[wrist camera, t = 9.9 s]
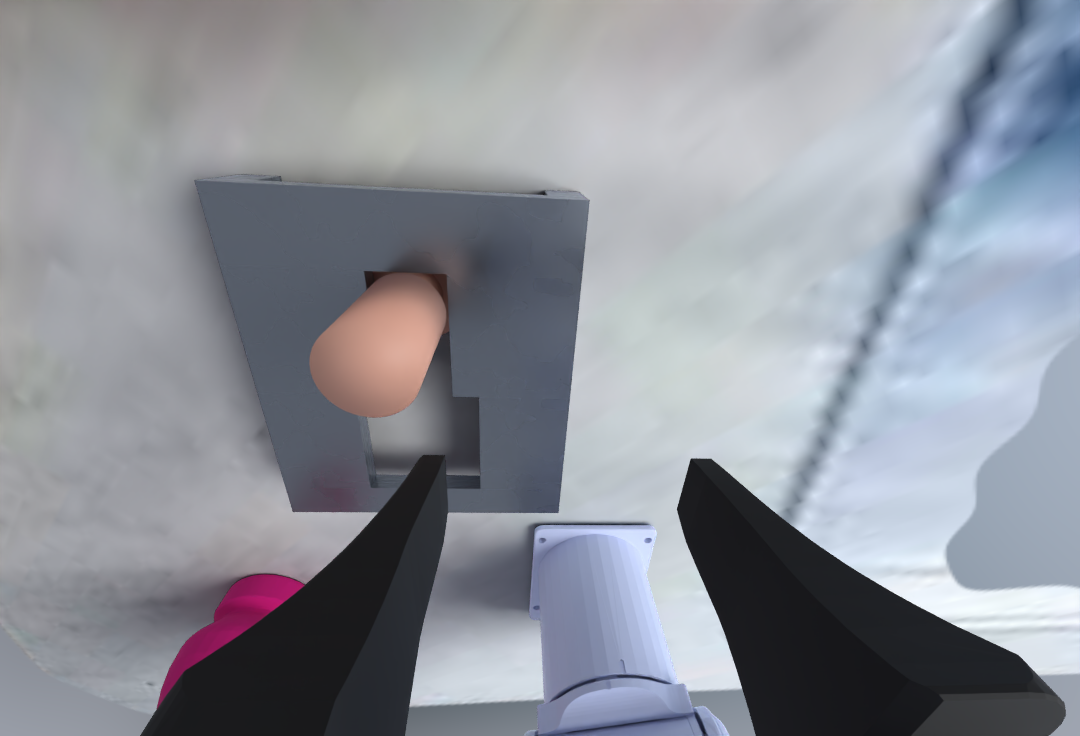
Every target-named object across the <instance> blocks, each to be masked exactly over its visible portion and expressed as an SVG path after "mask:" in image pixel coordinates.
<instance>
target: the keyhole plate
mask: <svg viewBox="0 0 1080 736" xmlns="http://www.w3.org/2000/svg"><path fill="white" fill-rule="evenodd" d="M195 184H196V187H197V190H198V194H199V197H200V201H201V204H202V207H203V211H204V214H205V217H206V221H207V224H208V228H209V231H210V234H211V238H212V241H213V244H214V248H215V251H216V254H217V258H218V261H219V265H220V268H221V271H222V275H223V278H224V281H225V285H226V288H227V292H228V295H229V298H230V302H231V305H232V308H233V312H234V315H235V318H236V322H237V325H238V329H239V332H240V335H241V339H242V342H243V345H244V349H245V352H246V356H247V359H248V362H249V366H250V369H251V372H252V376H253V379H254V383H255V386H256V389H257V393H258V396H259V399H260V403H261V406H262V409H263V413H264V416H265V420H266V423H267V426H268V430H269V433H270V436H271V440H272V443H273V447H274V450H275V453H276V457H277V460H278V463H279V467H280V470H281V474H282V477H283V480H284V484H285V487H286V490H287V494H288V497H289V500H290V504H291V507H292V511H293V512H379V511H380V510H381V509H382V508H383V507H384V505H385V504H386V503H387V502H388V500H389V499H390V498H391V497H392V495H393V494H394V493H395V492H396V490H397V489H398V488H399V487H400V485H401V484H402V483H403V481H404V480H405V479H406V477H407V476H408V475H376V470H375V464H374V458H373V452H372V446H371V440H370V434H369V427H368V421H367V417H363V416H358V415H355V414H352V413H349V412H346V411H344V410H342V409H340V408H339V407H337V406H336V405H334V404H333V403H331V402H330V401H329V400H328V399H327V398H326V397H325V396H324V395H323V394H322V393H321V392H320V390H319V389H318V387H317V386H316V384H315V382H314V380H313V378H312V375H311V372H310V365H309V362H310V353H311V350H312V347H313V345H314V343H315V342H316V340H317V339H318V338H319V336H320V335H321V334H322V333H323V332H324V331H325V330H326V329H328V328H329V327H330V326H331V325H332V324H333V323H334V322H335V321H336V320H337V319H338V318H339V317H340V316H341V315H342V314H343V313H344V312H345V311H346V310H347V309H348V308H349V307H350V306H351V305H352V304H353V303H354V302H355V301H356V300H357V299H358V298H359V297H360V296H361V295H362V294H363V293H364V292H365V291H366V290H367V289H368V288H369V287H370V286H371V285H372V284H373V283H374V279H373V271H379V272H404V273H429V274H447V293H448V313H449V333H450V354H451V374H452V394H453V397H479V428H480V476H468V475H446V480H447V496H448V512H462V513H558V511H559V501H560V491H561V481H562V471H563V461H564V451H565V441H566V431H567V421H568V411H569V401H570V391H571V381H572V371H573V361H574V351H575V341H576V331H577V321H578V311H579V301H580V291H581V281H582V271H583V261H584V251H585V241H586V231H587V221H588V211H589V201H590V200H588V199H587V198H586V197H585V196H584V195H582V194H581V193H580V192H571V191H552V190H545V195H532V194H512V193H493V192H474V191H454V190H435V189H416V188H396V187H377V186H357V185H338V184H319V183H299V182H282V180H281V176H266V175H247V174H241V175H233V176H225V177H217V178H208V179H200V180H195Z"/></svg>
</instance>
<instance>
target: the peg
mask: <svg viewBox="0 0 1080 736" xmlns="http://www.w3.org/2000/svg"><path fill="white" fill-rule="evenodd" d="M373 279H374V283H373V284H372V285H371V286H370V287H369V288H368V289H367V290H366V291H365V292H364V293H363V294H362V295H361V296H360V297H359V298H358V299H357V300H356V301H355V302H354V303H353V304H352V305H351V306H350V307H349V308H348V309H347V310H346V311H345V312H344V313H343V314H342V315H341V316H340V317H339V318H338V319H337V320H336V321H335V322H334V323H333V324H332V325H331V326H330V327H329V328H328V329H326V330H325V331H324V332H323V333H322V334H321V335H320V336H319V338H318V339H317V340H316V342H315V343H314V345H313V347H312V350H311V353H310V362H309V365H310V372H311V375H312V378H313V380H314V382H315V384H316V386H317V387H318V389H319V390H320V392H321V393H322V394H323V395H324V396H325V397H326V398H327V399H328V400H329V401H330V402H331V403H333V404H334V405H336V406H337V407H339V408H340V409H342V410H344V411H346V412H349V413H352V414H355V415H358V416H363V417H373V418H375V417H386V416H390V415H393V414H396V413H398V412H400V411H402V410H404V409H405V408H406V407H408V406H409V405H410V404H411V403H412V402H413V401H414V399H415V398H416V396H417V394H418V392H419V390H420V387H421V385H422V382H423V380H424V377H425V375H426V372H427V370H428V367H429V365H430V362H431V360H432V357H433V355H434V352H435V350H436V347H437V345H438V342H439V340H440V337H441V335H443V334H445V333H447V332H449V313H448V293H447V274H429V273H404V272H379V271H373Z"/></svg>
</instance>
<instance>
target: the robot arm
mask: <svg viewBox="0 0 1080 736" xmlns="http://www.w3.org/2000/svg"><path fill="white" fill-rule="evenodd" d="M677 511H678V515H679V519H680V522H681V526H682V530H683V533H684V536H685V540H686V543H687V545H688V548H689V550H690V552H691V555H692V557H693V559H694V562H695V564H696V567H697V569H698V571H699V573H700V576H701V578H702V580H703V583H704V585H705V587H706V590H707V592H708V594H709V597H710V599H711V601H712V603H713V606H714V608H715V610H716V613H717V615H718V617H719V620H720V622H721V625H722V628H723V630H724V633H725V636H726V639H727V642H728V645H729V648H730V651H731V654H732V657H733V660H734V663H735V666H736V669H737V672H738V676H739V679H740V682H741V686H742V689H743V692H744V696H745V698H746V702H747V706H748V708H749V712H750V716H751V720H752V723H753V727H754V730H755V734H756V736H1049V735H1050V734H1051V733H1052V732H1054V731H1055V730H1056V729H1057V728H1058V727H1059V726H1060V725H1061V724H1062V722H1063V720H1064V717H1065V716H1066V710H1065V704H1064V702H1063V701H1062V700H1061V699H1060V698H1059V697H1058V696H1057V695H1056V694H1055V692H1054V691H1053V690H1052V689H1051V688H1050V687H1049V686H1048V685H1047V684H1046V683H1045V682H1044V681H1043V680H1042V679H1041V678H1040V677H1039V676H1038V675H1037V674H1036V673H1035V672H1034V671H1033V670H1032V669H1031V668H1030V667H1029V665H1028V664H1027V663H1026V662H1025V661H1024V660H1023V659H1022V658H1021V657H1020V656H1019V655H1017V654H1015V653H1013V652H1011V651H1008V650H1006V649H1004V648H1002V647H1000V646H998V645H996V644H993V643H991V642H989V641H987V640H985V639H983V638H981V637H978V636H976V635H974V634H972V633H970V632H968V631H965V630H963V629H961V628H959V627H957V626H955V625H953V624H951V623H949V622H947V621H945V620H943V619H941V618H939V617H937V616H935V615H933V614H931V613H930V612H928V611H926V610H924V609H922V608H920V607H918V606H916V605H914V604H912V603H911V602H909V601H907V600H905V599H903V598H902V597H900V596H898V595H896V594H894V593H893V592H891V591H889V590H888V589H886V588H884V587H882V586H881V585H879V584H877V583H876V582H874V581H872V580H871V579H869V578H867V577H866V576H864V575H862V574H861V573H859V572H857V571H856V570H854V569H853V568H851V567H849V566H848V565H846V564H845V563H843V562H842V561H840V560H839V559H837V558H836V557H834V556H833V555H831V554H830V553H829V552H827V551H826V550H824V549H823V548H821V547H820V546H818V545H817V544H815V543H814V542H813V541H811V540H810V539H808V538H807V537H806V536H804V535H803V534H802V533H801V532H799V531H798V530H797V529H795V528H794V527H793V526H791V525H790V524H789V523H787V522H786V521H785V520H784V519H782V518H781V517H780V516H779V515H777V514H776V513H775V512H774V511H772V510H771V509H770V508H769V507H767V506H766V505H765V504H764V503H763V502H761V501H760V500H759V499H758V498H757V497H756V496H754V495H753V494H752V493H751V492H750V491H749V490H747V489H746V488H745V487H744V486H743V485H742V484H740V483H739V482H738V481H737V480H736V479H735V478H733V477H732V476H731V475H730V474H729V473H728V472H726V471H725V470H724V469H723V468H722V467H721V466H719V465H718V464H717V463H716V462H714V461H713V460H712V459H691V460H690V464H689V467H688V471H687V475H686V478H685V482H684V485H683V489H682V493H681V496H680V500H679V504H678V507H677ZM447 514H448V496H447V480H446V465H445V455H423V456H422V457H421V458H419V460H418V461H417V463H416V464H415V466H414V467H413V469H412V470H411V472H410V473H409V474H408V476H407V477H406V479H405V480H404V481H403V483H402V484H401V485H400V487H399V488H398V489H397V490H396V492H395V493H394V494H393V495H392V497H391V498H390V499H389V500H388V502H387V503H386V504H385V505H384V507H383V508H382V509H381V510H380V511H379V513H378V514H377V515H376V516H375V517H374V518H373V519H372V520H371V521H370V523H369V524H368V525H367V526H366V527H365V528H364V529H363V530H362V531H361V533H360V534H359V535H358V536H357V537H356V538H355V539H354V540H353V541H352V542H351V543H350V544H349V545H348V546H347V547H346V548H345V549H344V550H343V551H342V552H341V553H340V554H339V555H338V556H337V557H336V558H335V559H334V560H333V561H332V562H330V563H329V564H328V565H327V566H326V567H325V568H324V569H323V570H322V571H320V572H319V573H318V574H317V575H316V576H315V577H314V578H312V579H311V580H310V581H309V582H308V583H307V584H306V585H304V586H303V587H302V588H301V589H300V590H298V591H297V592H296V593H295V594H294V595H292V596H291V597H290V598H289V599H287V600H286V601H285V602H283V603H282V604H281V605H279V606H278V607H277V608H275V609H274V610H273V611H271V612H270V613H269V614H267V615H266V616H265V617H263V618H262V619H261V620H260V621H258V622H257V623H256V624H254V625H253V626H251V627H250V628H249V629H247V630H246V631H244V632H243V633H242V634H240V635H239V636H237V637H236V638H234V639H233V640H231V641H230V642H228V643H227V644H225V645H224V646H222V647H221V648H219V649H217V650H216V651H214V652H213V653H211V654H210V655H208V656H207V657H205V658H204V659H202V660H201V661H199V662H198V663H196V664H195V665H193V666H191V667H190V668H188V669H186V670H185V671H184V672H183V673H182V675H181V676H180V678H179V679H178V680H177V682H176V683H175V684H174V686H173V687H172V688H171V690H170V691H169V692H168V694H167V695H166V696H165V698H164V699H163V701H162V702H161V704H160V705H159V707H158V708H157V710H156V711H155V713H154V715H153V716H152V718H151V719H150V721H149V723H148V724H147V726H146V727H145V729H144V730H143V732H142V734H141V735H140V736H405V731H406V724H407V717H408V711H409V704H410V698H411V691H412V685H413V678H414V672H415V666H416V660H417V653H418V647H419V641H420V636H421V631H422V626H423V622H424V618H425V614H426V610H427V606H428V602H429V598H430V594H431V590H432V586H433V582H434V578H435V575H436V571H437V567H438V563H439V559H440V555H441V551H442V547H443V543H444V536H445V529H446V522H447ZM656 535H657V532H656V530H655V528H654V527H653V526H649V525H540V526H538V527H536V528H535V531H534V546H533V561H532V576H531V591H530V607H529V617H530V618H531V619H533V620H540V622H541V643H542V665H543V687H544V704H540V705H538V706H537V715H538V717H537V718H538V730H529V731H527V732H526V733H525V735H524V736H729V734H728V732H727V730H726V728H725V726H724V725H723V723H722V722H721V721H720V720H719V719H718V718H717V717H715V716H714V715H713V714H712V713H711V712H710V711H709V709H708V708H706V707H705V706H699V707H695V708H693V707H692V704H691V701H690V698H689V694H688V691H687V688H686V685H685V684H679V683H678V680H677V676H676V673H675V670H674V666H673V663H672V659H671V656H670V653H669V649H668V646H667V642H666V639H665V636H664V632H663V629H662V626H661V622H660V619H659V615H658V612H657V609H656V605H655V602H654V598H653V595H652V592H651V588H650V585H649V582H648V578H647V575H646V574H647V570H648V566H649V562H650V558H651V554H652V550H653V547H654V543H655V539H656Z"/></svg>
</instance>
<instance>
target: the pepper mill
mask: <svg viewBox="0 0 1080 736" xmlns="http://www.w3.org/2000/svg"><path fill="white" fill-rule="evenodd" d="M303 586H304V584H302V583H301V582H298V581H296V580H293V579H291V578H288V577H284V576H279V575H269V574H261V575H253V576H250V577H247V578H243V579H241V580H239V581H238V582H236V583H235V584H234V585H232V587H231V588H230V589H229V591H228V592H227V594H226V595H225V597H224V598H223V600H222V602H221V603H220V605H219V606H218V608H217V609H216V611H215V614H214V623H212V624H210V625H208V626H206V627H204V628H202V629H201V630H199V631H198V632H196V633H195V634H194V635H192V636H191V637H190V638H189V639H188V640H187V641H186V642H185V644H184V645H183V646H182V648H181V649H180V651H179V653H178V654H177V656H176V658H175V659H174V661H173V663H172V665H171V666H170V668H169V671H168V673H167V676H166V679H165V681H164V684H163V686H162V689H161V693H160V697H159V701H158V706H157V708H158V707H159V705H160V704H161V702H162V701H163V699H164V698H165V696H166V695H167V694H168V692H169V691H170V690H171V688H172V687H173V686H174V684H175V683H176V682H177V680H178V679H179V678H180V676H181V675H182V673H183V672H184V671H185V670H186V669H188V668H190V667H191V666H193V665H195V664H196V663H198V662H199V661H201V660H202V659H204V658H205V657H207V656H208V655H210V654H211V653H213V652H214V651H216V650H217V649H219V648H221V647H222V646H224V645H225V644H227V643H228V642H230V641H231V640H233V639H234V638H236V637H237V636H239V635H240V634H242V633H243V632H244V631H246V630H247V629H249V628H250V627H251V626H253V625H254V624H256V623H257V622H258V621H260V620H261V619H262V618H263V617H265V616H266V615H267V614H269V613H270V612H271V611H273V610H274V609H275V608H277V607H278V606H279V605H281V604H282V603H283V602H285V601H286V600H287V599H289V598H290V597H291V596H292V595H294V594H295V593H296V592H297V591H298V590H300V589H301V588H302V587H303Z"/></svg>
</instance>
